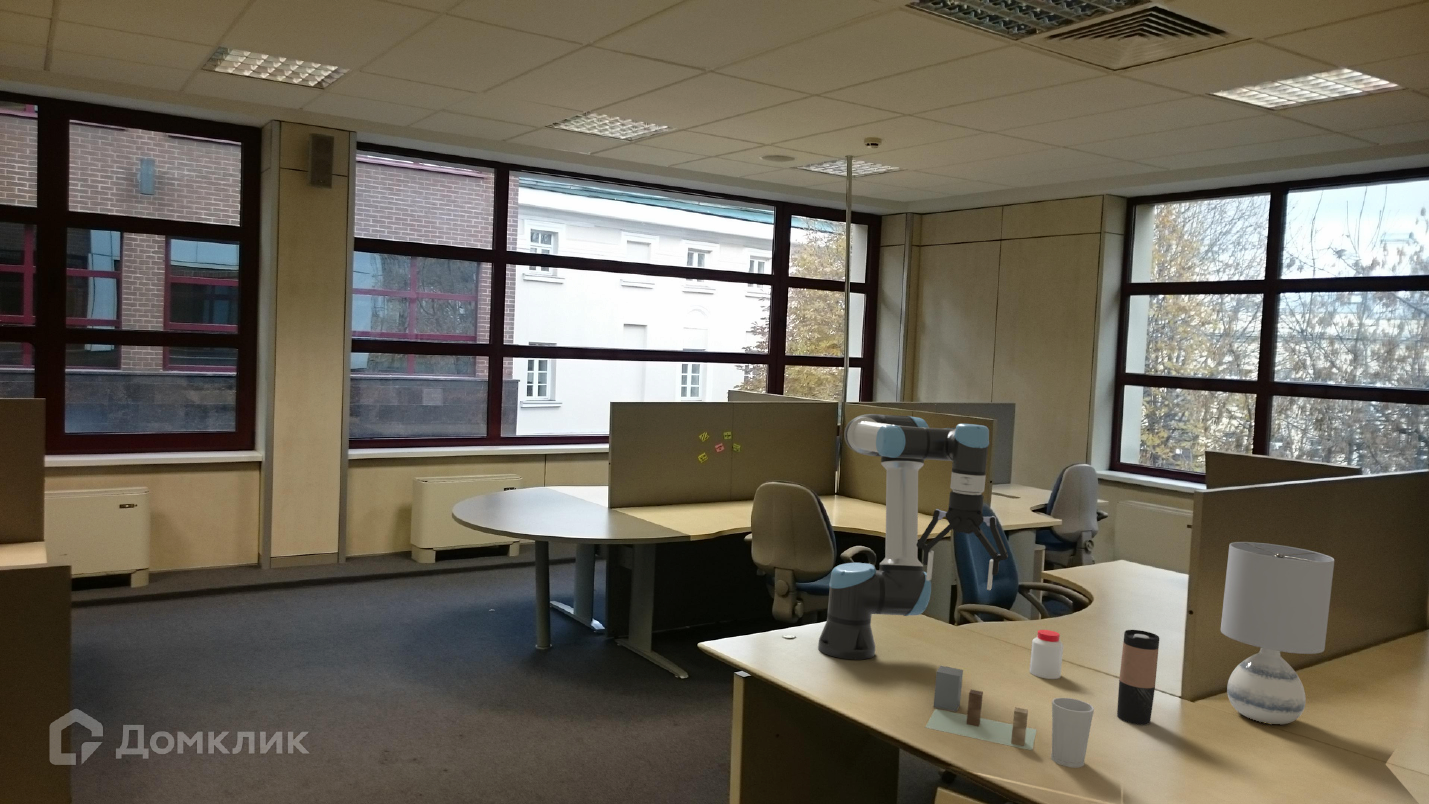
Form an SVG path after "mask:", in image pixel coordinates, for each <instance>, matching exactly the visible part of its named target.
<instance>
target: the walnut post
mask: <svg viewBox="0 0 1429 804" xmlns="http://www.w3.org/2000/svg"><path fill="white" fill-rule="evenodd" d="M983 694H984V692H983V691H980V690H977V689H970V690H969V693H968V703H967V704H968V705H967V713H966V715H967V723H966V724H968V725H973V726H977V727H979V724H980V718H982V704H983Z"/></svg>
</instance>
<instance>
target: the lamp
mask: <svg viewBox="0 0 1429 804" xmlns="http://www.w3.org/2000/svg"><path fill="white" fill-rule="evenodd" d="M1227 555H1228V557H1227V566H1226V573H1225V574H1226V575H1225V583H1224V584H1225V585H1224V594H1223V602H1222V603H1223V605H1222V612H1221V613H1222V615H1221V624H1220V632H1221V634H1223V635H1224V636H1226V637H1227V638H1229V639H1231V640H1234V641H1236V642H1237V641H1238V643H1239V642H1240V643H1242V644H1246V645H1250V646H1253V647H1255V648H1259V649H1260V650H1259V652H1258V653H1255V654H1252V655H1251V656H1249V657H1247V658H1245V659H1244V660H1243V661H1241V662H1240V663H1239V664H1238V665H1237V666H1235V668H1234V670H1233V671H1232V672H1231V674H1230V675H1229V678H1228V681H1227V686H1226V688H1227V689H1226V692H1227V697H1228V700H1229V703H1230V704H1231V706H1232V707H1233V708H1234V709H1235V711H1237V712H1238V713H1239V714H1240V715H1242V716H1244V717H1246V718H1247V719H1249V718H1250V720H1251V719H1253V720H1252V721H1254V720H1256V721H1255V722H1257V721H1259V722H1258V723H1261V722H1266V723H1271V724H1270V725H1272V724H1280V725H1287V724H1290V723H1293V722H1294V721H1296V720H1298V719H1299V718H1300V717H1301V715H1302V714H1303V712H1304V710H1305V708H1306V700H1307V699H1306V693H1305V692H1306V691H1305V688H1304V685H1303V683H1302V681H1301V679H1300V677H1299V675H1298V673H1297V672H1296V671H1295V669H1294V668H1293V667H1292V666H1291V665H1290V664H1289V663H1288V662H1287V661H1286V660H1285V659H1284V658H1283V657H1282V656H1281V652H1284V653H1289V654H1300V655H1301V654H1302V655H1304V654H1306V655H1314V654H1319V653H1320V654H1321V653H1324V651H1325V649H1326V638H1327V631H1328V630H1327V629H1328V620H1329V613H1330V612H1329V611H1330V605H1331V604H1330V603H1331V596H1332V595H1331V594H1332V593H1331V592H1332V584H1333V576H1334V575H1333V574H1334V569H1335V559H1334V557H1332V556H1330V555H1326V554H1324V553H1320V552H1317V551H1312V550H1309V549H1304V548H1298V547H1293V546H1288V545H1281V544H1280V545H1279V544H1273V543H1272V544H1271V543H1263V542H1249V541H1235V542H1231V543H1229V547H1228V554H1227Z"/></svg>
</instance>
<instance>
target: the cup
mask: <svg viewBox="0 0 1429 804" xmlns="http://www.w3.org/2000/svg"><path fill="white" fill-rule="evenodd" d="M1051 704H1052V705H1051V721H1052V722H1051V723H1052V724H1051V725H1052V726H1051V757H1050V760H1052V761H1053V762H1054V763H1055V764H1058V765H1060V766H1063V767H1067V768H1082V767H1084V766H1085V758H1086V754H1087V748H1088V743H1089V738H1090V732H1091V726H1092V720H1093V716H1094V713H1095V712H1094V710H1095V707H1094V706H1093V705H1092V704H1091V703H1088V702H1087V701H1083V700H1080V699H1077V698H1071V697H1055V698H1053V699H1052V700H1051Z"/></svg>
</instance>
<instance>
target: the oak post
mask: <svg viewBox="0 0 1429 804" xmlns="http://www.w3.org/2000/svg"><path fill="white" fill-rule="evenodd" d="M1028 713H1029V709H1026V708H1020V707H1018V706H1015V707H1014V710H1013V718H1012V720H1013V721H1012V725H1013V728H1012V739H1011V744H1015V745H1020V746H1024V744H1025V737H1026V727H1027V725H1028V716H1029V715H1028ZM1027 728H1028V727H1027Z"/></svg>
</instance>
